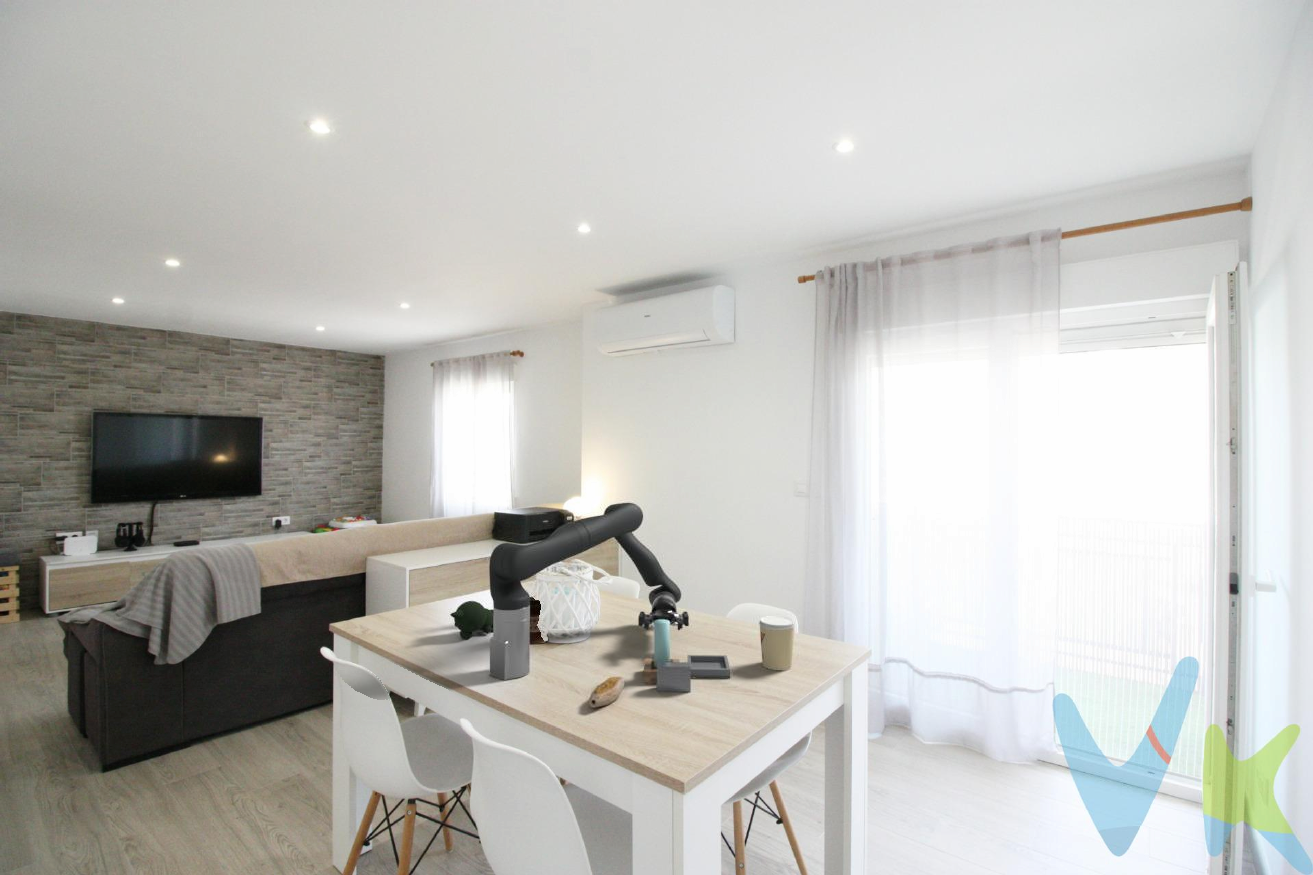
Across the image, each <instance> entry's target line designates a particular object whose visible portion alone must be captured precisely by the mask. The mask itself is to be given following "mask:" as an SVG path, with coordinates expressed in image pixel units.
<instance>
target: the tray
mask: <svg viewBox="0 0 1313 875" xmlns="http://www.w3.org/2000/svg"><path fill="white" fill-rule="evenodd" d="M728 659H729V658H728V656H727V655H724V654H723V655H722V654H720V655H719V654H716V655H715V654H714V655H713V654H711V655H710V654H709V655H707V654H695V655H694V654H687V659H686V660H687V661H686V662H690V666H691V679H693V678H695V679H697V678H698V679H702V678H703V679H731V666H730V663H729V660H728Z"/></svg>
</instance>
